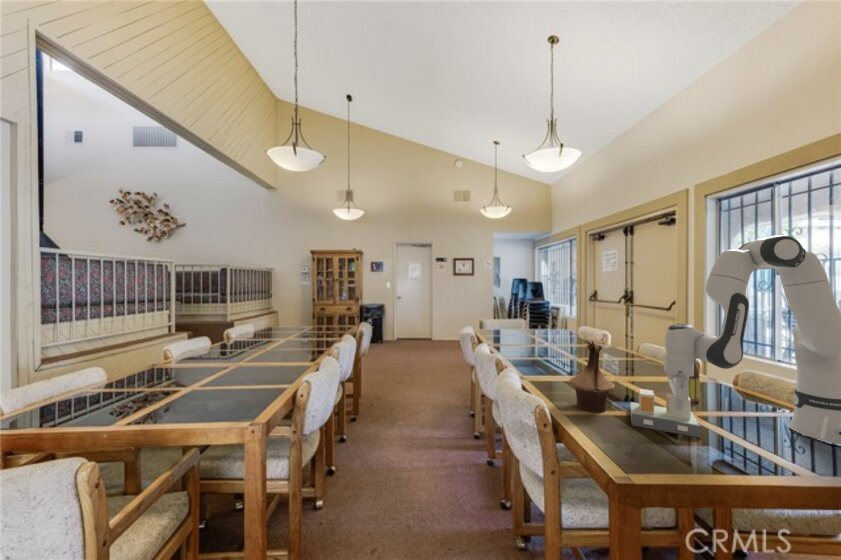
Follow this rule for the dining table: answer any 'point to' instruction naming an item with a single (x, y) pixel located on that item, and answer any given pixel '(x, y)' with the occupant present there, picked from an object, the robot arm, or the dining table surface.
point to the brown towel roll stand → (592, 382)
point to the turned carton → (673, 411)
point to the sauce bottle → (694, 385)
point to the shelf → (664, 421)
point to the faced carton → (646, 401)
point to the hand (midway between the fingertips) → (677, 405)
